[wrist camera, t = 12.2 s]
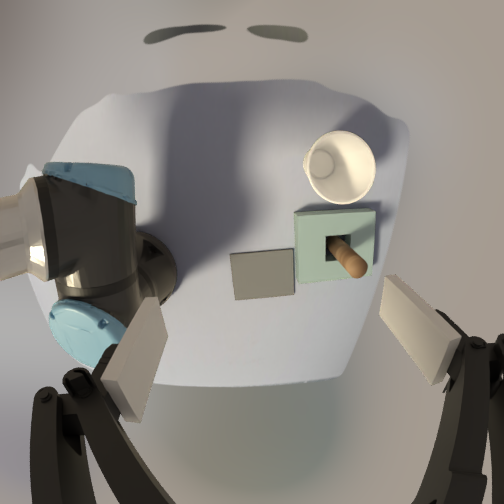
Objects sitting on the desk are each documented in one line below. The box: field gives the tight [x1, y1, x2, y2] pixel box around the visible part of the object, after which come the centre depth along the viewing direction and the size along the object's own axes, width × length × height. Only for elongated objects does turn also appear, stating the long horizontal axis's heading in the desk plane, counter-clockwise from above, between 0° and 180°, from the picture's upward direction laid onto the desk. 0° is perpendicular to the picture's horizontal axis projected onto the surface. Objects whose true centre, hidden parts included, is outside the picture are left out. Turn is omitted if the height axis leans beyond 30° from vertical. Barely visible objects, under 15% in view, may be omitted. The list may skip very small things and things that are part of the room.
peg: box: [326, 235, 368, 278], centre depth 43 cm, size 3×3×12 cm
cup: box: [303, 131, 376, 204], centre depth 38 cm, size 10×10×11 cm
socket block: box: [294, 208, 376, 284], centre depth 47 cm, size 14×12×3 cm
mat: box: [230, 249, 294, 300], centre depth 50 cm, size 11×9×1 cm
